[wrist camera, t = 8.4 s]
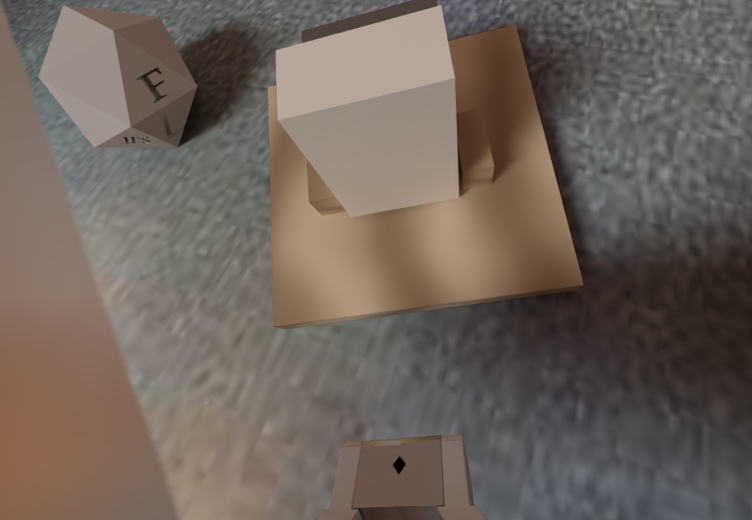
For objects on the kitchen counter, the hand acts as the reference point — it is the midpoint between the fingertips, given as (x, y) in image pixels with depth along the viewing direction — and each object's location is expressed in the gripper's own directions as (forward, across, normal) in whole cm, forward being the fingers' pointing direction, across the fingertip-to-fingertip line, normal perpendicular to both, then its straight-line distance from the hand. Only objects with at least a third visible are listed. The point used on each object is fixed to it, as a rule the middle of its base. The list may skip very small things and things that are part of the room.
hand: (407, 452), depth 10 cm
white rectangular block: (+15, 0, -2) cm, 15 cm away
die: (+23, +17, -8) cm, 30 cm away
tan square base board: (+17, 0, -2) cm, 17 cm away
